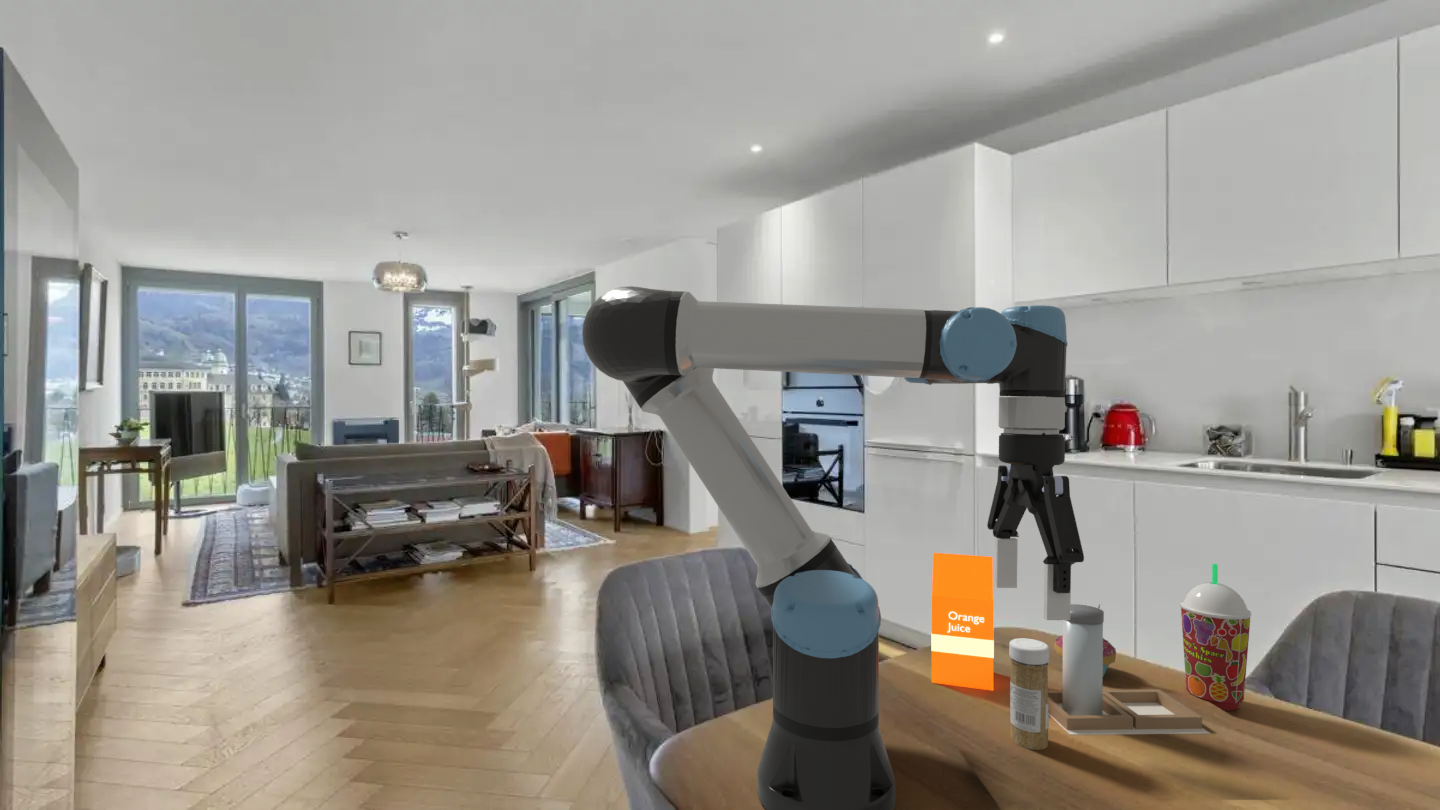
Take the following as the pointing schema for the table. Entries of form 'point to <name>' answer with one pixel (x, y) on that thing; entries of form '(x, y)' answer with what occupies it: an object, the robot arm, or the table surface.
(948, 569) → the orange juice
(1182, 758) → the table surface
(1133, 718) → the frame
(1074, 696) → the white bottle
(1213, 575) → the smoothie
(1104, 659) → the cupcake
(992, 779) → the table surface
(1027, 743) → the spice jar
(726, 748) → the table surface
